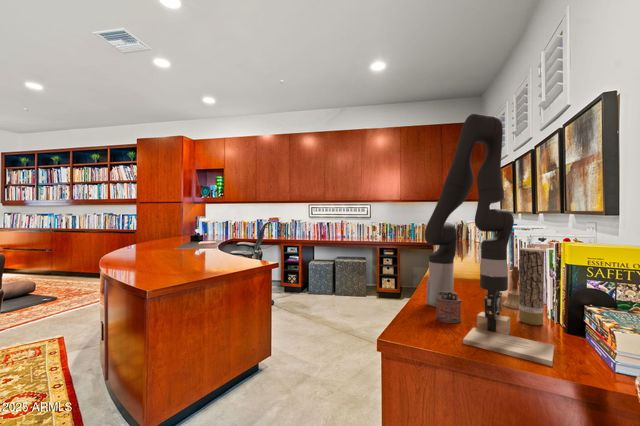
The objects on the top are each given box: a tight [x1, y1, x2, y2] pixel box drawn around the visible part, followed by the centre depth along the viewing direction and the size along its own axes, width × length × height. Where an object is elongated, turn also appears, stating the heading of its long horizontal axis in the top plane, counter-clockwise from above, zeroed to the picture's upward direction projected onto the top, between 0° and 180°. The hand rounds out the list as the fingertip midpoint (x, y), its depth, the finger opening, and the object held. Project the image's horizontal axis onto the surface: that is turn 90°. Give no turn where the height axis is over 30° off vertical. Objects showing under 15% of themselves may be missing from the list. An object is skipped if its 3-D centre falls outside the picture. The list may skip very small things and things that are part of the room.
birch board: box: [462, 326, 555, 367], centre depth 85 cm, size 20×12×1 cm, turn 51°
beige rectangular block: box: [476, 311, 511, 335], centre depth 95 cm, size 8×5×5 cm, turn 48°
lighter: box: [435, 291, 462, 324], centre depth 106 cm, size 8×3×10 cm, turn 71°
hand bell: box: [502, 266, 520, 310], centre depth 124 cm, size 8×8×16 cm
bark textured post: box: [518, 247, 545, 326], centre depth 105 cm, size 7×7×25 cm
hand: (493, 328), depth 95 cm, fingers closed on beige rectangular block, 5 cm apart
